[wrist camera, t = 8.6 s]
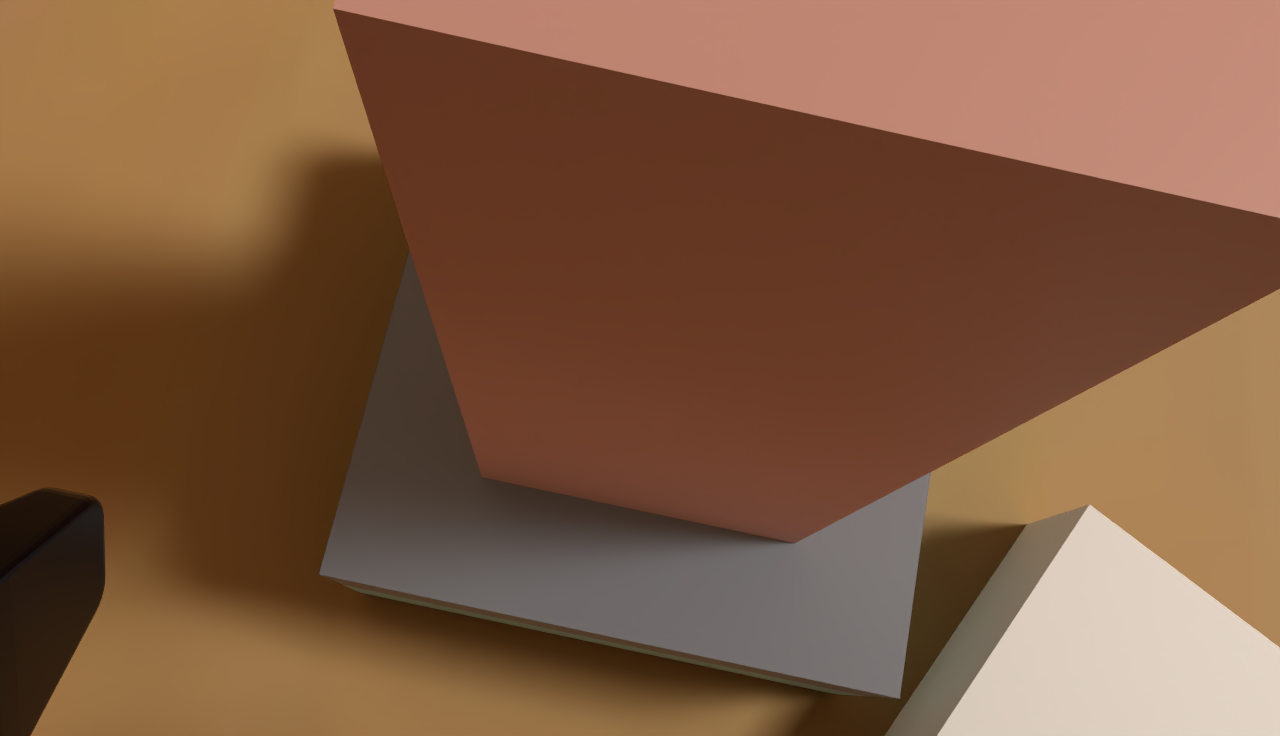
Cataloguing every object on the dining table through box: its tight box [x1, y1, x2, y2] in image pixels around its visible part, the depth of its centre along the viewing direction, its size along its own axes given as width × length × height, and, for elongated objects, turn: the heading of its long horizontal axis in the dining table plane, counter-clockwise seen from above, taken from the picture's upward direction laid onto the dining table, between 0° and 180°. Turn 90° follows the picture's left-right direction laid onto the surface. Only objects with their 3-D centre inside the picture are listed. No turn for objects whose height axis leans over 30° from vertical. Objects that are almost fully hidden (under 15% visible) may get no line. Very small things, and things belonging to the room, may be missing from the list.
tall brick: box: [333, 0, 1280, 543], centre depth 12 cm, size 5×5×13 cm
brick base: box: [319, 249, 931, 699], centre depth 20 cm, size 9×9×4 cm
